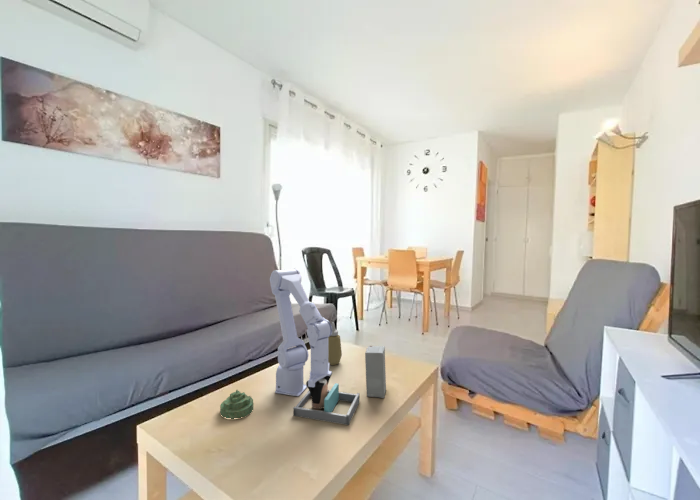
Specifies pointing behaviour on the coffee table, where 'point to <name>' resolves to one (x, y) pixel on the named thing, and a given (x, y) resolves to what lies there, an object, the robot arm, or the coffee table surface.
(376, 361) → the skincare box
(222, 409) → the decorative artifact
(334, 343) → the squeeze bottle
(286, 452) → the coffee table surface
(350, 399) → the grey tray
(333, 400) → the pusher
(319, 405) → the jar
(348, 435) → the coffee table surface
